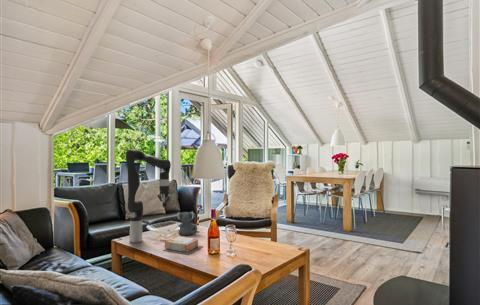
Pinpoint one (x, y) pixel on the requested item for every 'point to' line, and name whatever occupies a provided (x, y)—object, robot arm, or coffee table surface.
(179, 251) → the mat
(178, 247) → the cracker box
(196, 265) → the coffee table surface
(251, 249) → the coffee table surface
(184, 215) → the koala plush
